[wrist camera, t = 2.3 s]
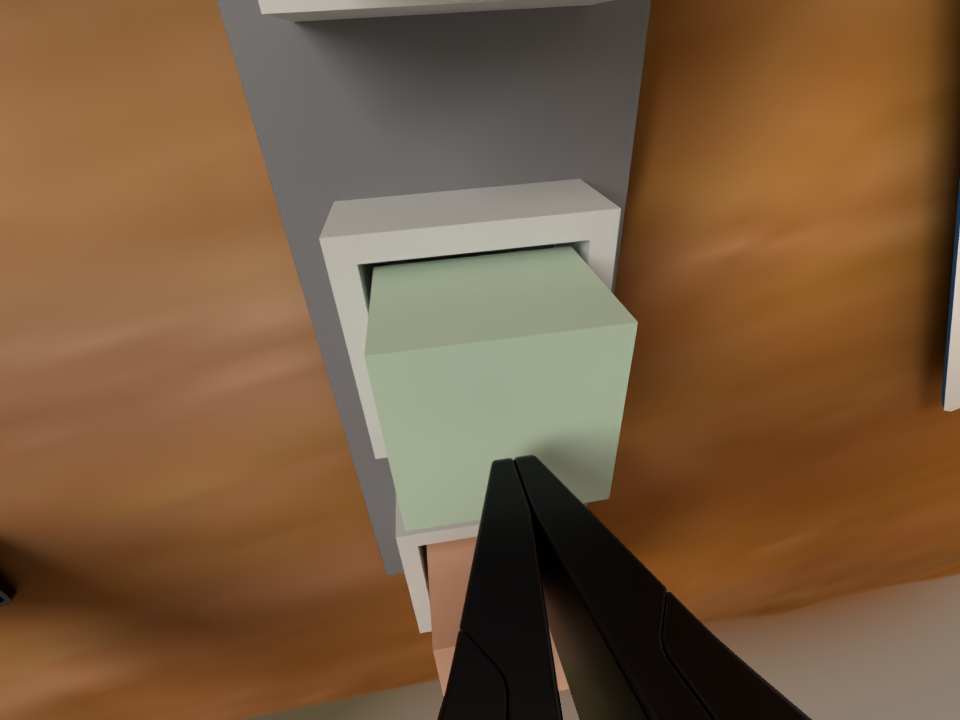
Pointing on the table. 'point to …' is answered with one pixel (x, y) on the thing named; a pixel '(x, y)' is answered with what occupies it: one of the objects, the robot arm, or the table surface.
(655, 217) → the table surface
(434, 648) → the terracotta button
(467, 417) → the sage button
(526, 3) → the button panel
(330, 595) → the table surface
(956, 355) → the plate
